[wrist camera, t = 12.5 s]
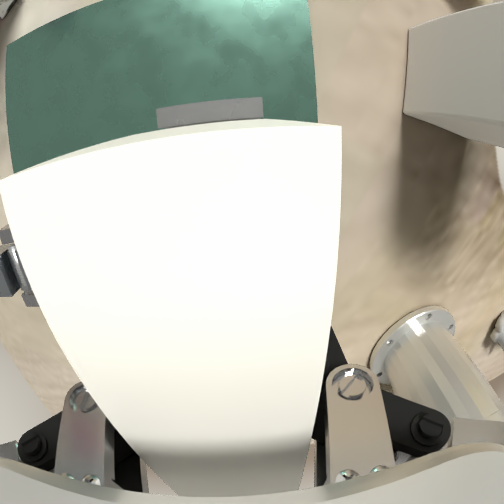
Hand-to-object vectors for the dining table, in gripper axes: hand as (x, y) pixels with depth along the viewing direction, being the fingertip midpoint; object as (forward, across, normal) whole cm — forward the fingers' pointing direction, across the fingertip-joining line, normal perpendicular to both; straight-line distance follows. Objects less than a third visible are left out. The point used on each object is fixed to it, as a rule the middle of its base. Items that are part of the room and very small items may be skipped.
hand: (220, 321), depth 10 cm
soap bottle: (+14, -20, -11) cm, 27 cm away
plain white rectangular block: (+1, 0, 0) cm, 1 cm away
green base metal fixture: (+14, +6, -5) cm, 16 cm away
